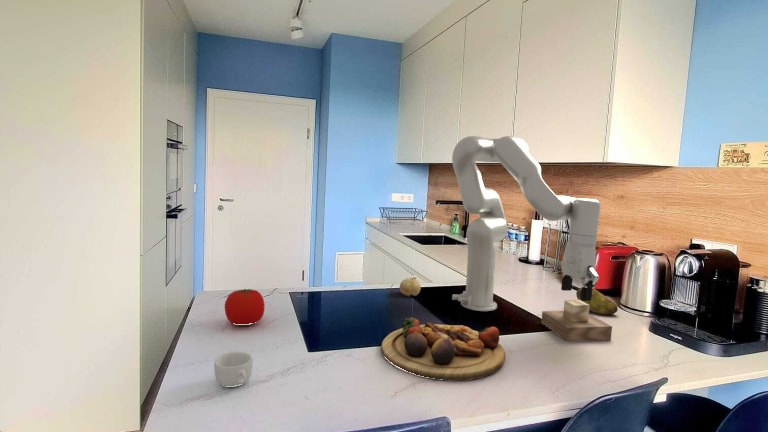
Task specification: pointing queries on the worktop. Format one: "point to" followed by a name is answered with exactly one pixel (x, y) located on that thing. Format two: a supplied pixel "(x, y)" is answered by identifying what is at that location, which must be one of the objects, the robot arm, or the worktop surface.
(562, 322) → the walnut base block
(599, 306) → the green pickle
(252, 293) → the tomato
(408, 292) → the cream round lump
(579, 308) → the maple cube
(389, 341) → the wooden plate with food
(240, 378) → the teacup
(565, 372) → the worktop surface
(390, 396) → the worktop surface
